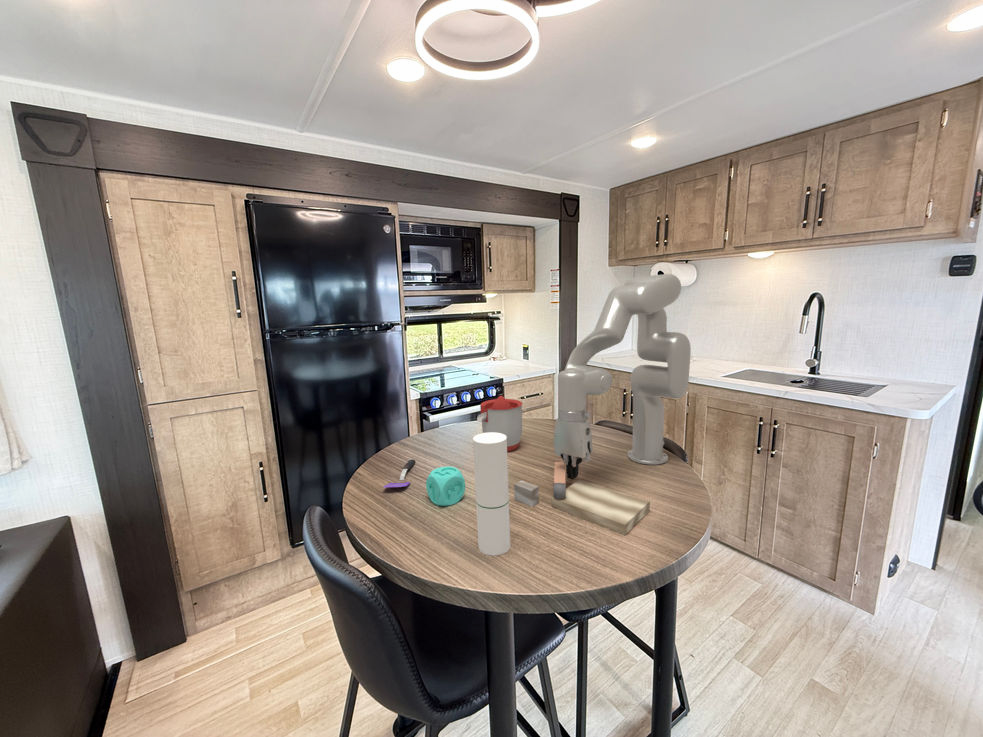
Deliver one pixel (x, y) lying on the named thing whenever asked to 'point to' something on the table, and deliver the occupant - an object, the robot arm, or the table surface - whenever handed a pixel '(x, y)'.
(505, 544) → the cylindrical container
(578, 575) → the table surface
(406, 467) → the spatula
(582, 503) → the stool seat
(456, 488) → the decorative dice
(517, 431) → the citrus juicer
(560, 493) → the stool leg
